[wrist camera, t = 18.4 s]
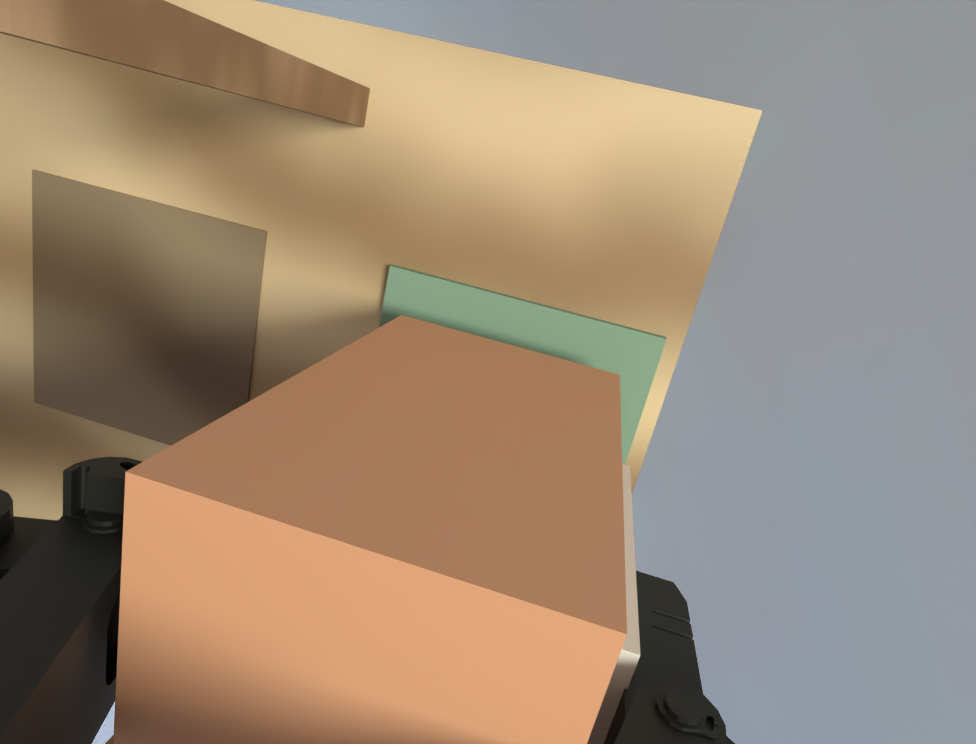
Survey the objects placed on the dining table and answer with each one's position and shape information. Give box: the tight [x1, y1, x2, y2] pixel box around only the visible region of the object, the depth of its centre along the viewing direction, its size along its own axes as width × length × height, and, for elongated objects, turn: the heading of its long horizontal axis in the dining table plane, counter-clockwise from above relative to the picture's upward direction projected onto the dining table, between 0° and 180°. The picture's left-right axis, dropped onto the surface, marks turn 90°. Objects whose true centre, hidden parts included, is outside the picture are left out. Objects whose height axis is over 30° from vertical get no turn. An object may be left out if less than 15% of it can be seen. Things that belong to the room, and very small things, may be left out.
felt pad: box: [379, 265, 666, 465], centre depth 19 cm, size 8×8×1 cm
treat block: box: [113, 315, 627, 744], centre depth 13 cm, size 6×6×10 cm
